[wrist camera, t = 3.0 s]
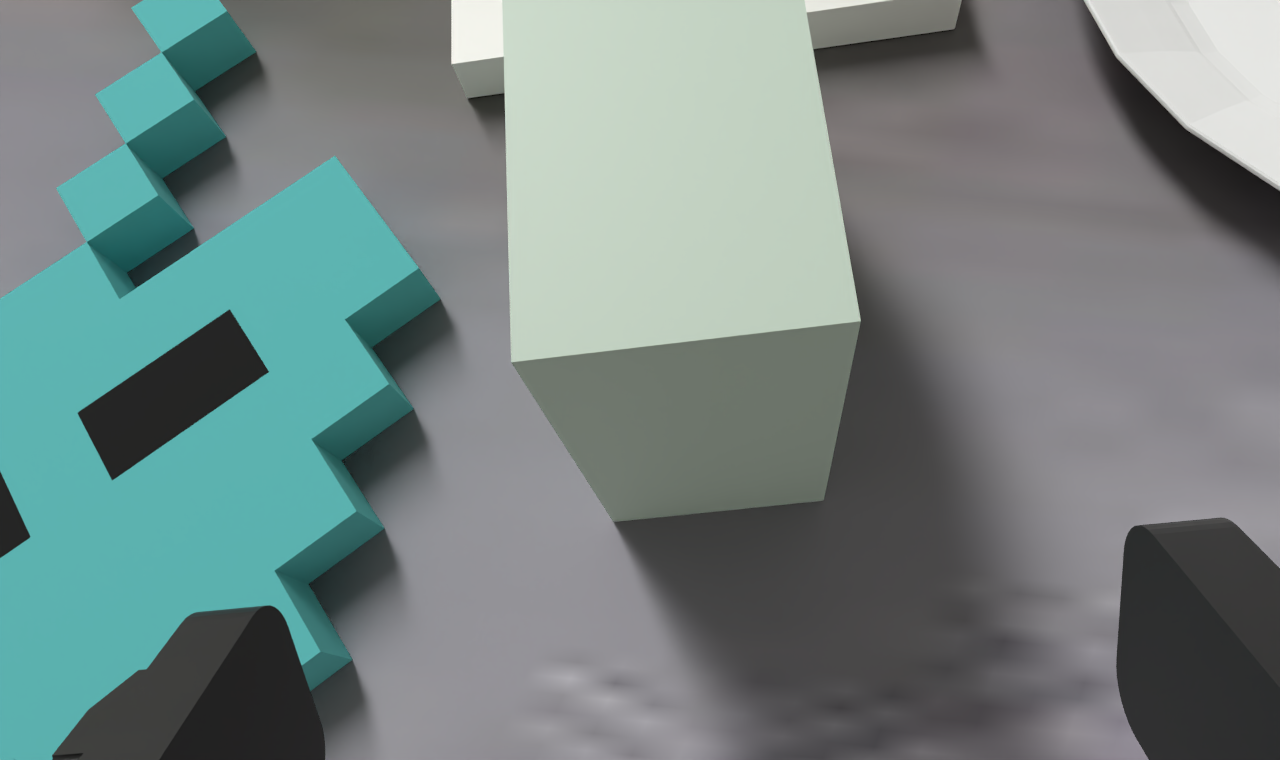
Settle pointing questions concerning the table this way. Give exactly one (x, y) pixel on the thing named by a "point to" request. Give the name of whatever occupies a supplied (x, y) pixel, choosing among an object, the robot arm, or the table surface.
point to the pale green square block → (677, 249)
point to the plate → (1207, 69)
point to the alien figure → (184, 402)
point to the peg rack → (835, 4)
